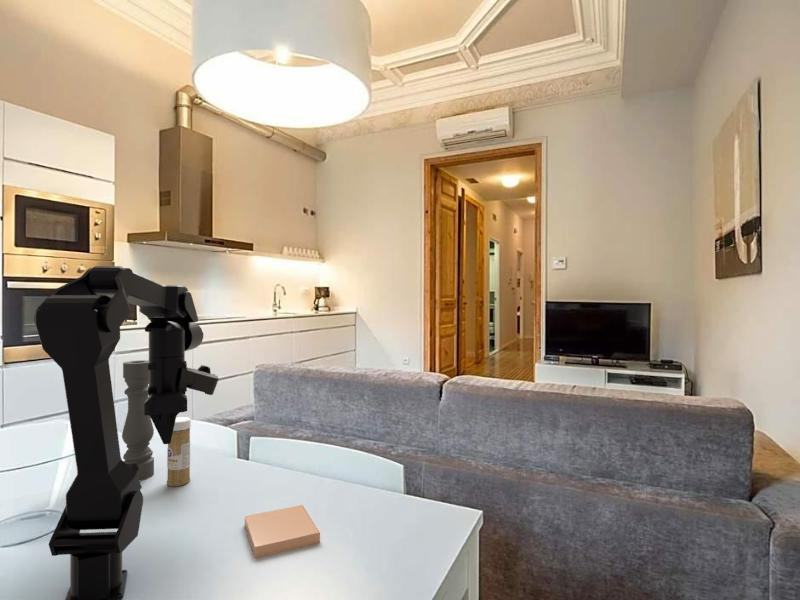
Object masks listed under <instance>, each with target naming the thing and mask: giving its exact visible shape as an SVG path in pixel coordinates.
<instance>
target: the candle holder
mask: <svg viewBox="0 0 800 600" xmlns="http://www.w3.org/2000/svg"><path fill="white" fill-rule="evenodd" d="M148 363H149V359H147V360H145V359H143V360H129V361H124V362H122V377H123V378H124V383H126V386H127V388H125V390H124V391H123V393H124V395H126V397H127V414H126V418H125V421H124V426H123V428H122V432H121V439H122V441H123V442H124V444H126V447H125V448H127V449H126V451H125V453H124V454H123V456H122V461H123V462H124V463H136V464H137V466H138V468H139V480H140V481H144V480H147V479H150V478H151V477H153V476H154V475H155V457H153V453H154V451H153V450H152V448H150V446H149V445H150V442H151V441H152V439H153V436H154V434H155V429H154V428H155V427H154V424H153V421H152V419H151V417H150V415H149V416H147V415H144V403H145V400H146V399H147V398H148V397H149V394H148V387H149V370H148Z"/></svg>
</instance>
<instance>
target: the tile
mask: <svg viewBox="0 0 800 600" xmlns="http://www.w3.org/2000/svg"><path fill="white" fill-rule="evenodd" d="M244 528H245V531H246V533H247V537H248V540H249V545H250V547H251V550H252V552H253V556H254V558H258V557H263V556H264V557H265V556H269V555H272V554H276V553H281V552H284V551H288V550H293V549H297V548H302V547H305V546H310V545H314V544H318V543H321V532H320V530H319V528H318V527H317V526H316V524H315V522H314V521H313V519H312V518H311V516H310V514H309V512H308V511H307V509H306V508H305V506H304V504H300V505H295V506H289V507H284V508H280V509H279V508H278V509H275V510H269V511H265V512H264V511H263V512H259V513H253V514H250V515H245V516H244Z"/></svg>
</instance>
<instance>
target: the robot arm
mask: <svg viewBox="0 0 800 600" xmlns="http://www.w3.org/2000/svg"><path fill="white" fill-rule="evenodd" d="M192 296H193V295H192V293H191V292H190V291H189V289H188V288H187V287H186V286H185V285H177V284H176V285H173V284H172V285H171V284H167V285H166V284H160V283H158V282H156V281H154V280H152V279H149V278H148V277H147V278H146V277H145V276H143V275H140V274H138V273H136V272H135V271H133V270H132V269H131V268H129V267H126V266H123V265H113V266H112V265H103V266H102V265H94V266H93V267H89V268H88V269H86V270H85V272H84V273H83V274H82V275H81V276H80V277H78V278H76V279H74V280H72V281H70V282H67V283H65V284H63V285H62V286H59V287H57V288H56V289H54V290H53V291H52V292H51V293H50V294H49V295H48V296H47V297H46V298H45V299H44V301H43V302H41V304H39V306H38V307H37V308H36V310H35V313H34V317H33V318H34V320H33V321H34V324H35V328H36V331H37V334H38V335H37V336H38V338H39V341H40V345H41V347H42V348H41V349H42V350H43V351H44V352H45V354H47V355H48V356H49V357H50V358H51V360H52V361H53V362H55V363H56V364H57V366H59V368H60V369H61V372H62V377H63V385H64V390H65V391H64V392H65V397H66V398H65V399H66V403H67V404H66V405H67V411H68V419H69V425H70V430H71V438H72V443H73V451H74V458H75V464H76V476H75V478H74V479H73V481H72V483H71V485H70V487H69V489H68V490H67V492H66V494H65V506H64V509H63V511H62V514H61V516H60V517H59V518H60V519H59V520H58V523H57V525H56V526H55V529H54V531H53V533H52V535H51V538H50V540H49V542H48V546H49V550H50V554H51V556H53V557H56V556H58V555H59V556H61V555H62V556H65V555H70V559H69V561H70V563H69V564H70V565H69V567H70V568H69V569H70V571H69V572H70V574H69V576H70V580H69V581H70V586H69V588H68V591H67V594H66V597H65V599H64V600H121V599H123V598H124V595H125V589H126V584H127V578H128V569H123V551H125V550H126V548H127V547H129V546H130V545H131V543H132V542H133V541H134V540H135V539H136V538H138V536H139V533H140V532H139V531H140V525H141V517H142V511H143V505H144V495H143V492H142V491H141V490H142V487H143V486H142V484H141V480H139V468H138V466H137V464H136V463H124V462H123V461H124V460H123V459H122V457H121V448H120V440H119V433H118V424H117V418H116V409H115V401H114V393H113V386H112V385H113V384H112V377H111V369H110V358H111V355H112V354H113V352H114V350H115V348H116V347H117V345H118V343H119V341H120V339H121V326H122V325H123V323H124V322H125V320H126V319H127V317H128V316H129V314H130V313H131V312H132V311H131V310H132V309H131V306H130V304H131V305H134V306H137V307H139V312H140V313H141V314H142V315H144V316H145V317H147V319H148V320H149V321H150V322H149V323H148V324H147V325H145V328H144V332H147V333H148V360H149V363H148V370H149V384H148V386H149V387H148V394H149V395H148V398H147V399H146V400H145V403H144V415H147V416H149V415H150V417H151V421H152V424H153V426H154V428H155V430H156V431H157V433H158V435H159V437H160V439H161V441H162V444H164V445H168V444H170V443H171V438H172V434H173V429H174V425H175V420H176V418H177V416H178V415H179V414H180V413H185V412H188V395H186V392H187V391H188V389H190V390H193V391H197V392H202V393H204V394H206V395H209V396H213V395H214V392H215V390H216V387H217V384H218V383H219V376H218V375H216V374H215V373H211V368H210V366H207V365H203V364H201V365H200V366H199V367H198V368H197V369H196V368H190V367H187V366H188V363H187V360H186V358H185V357H186V356H185V354H186V351H187V352H188V351H190V350H194V349H196V348H198V347H199V346H200V345H201V344H202V343H203V340H204V332H203V330H202V328H201V326H200V325H199V324H198V322H199V316H198V313H197V310H196V307H195V303H194V299H193V297H192ZM84 530H85V531H88V530H89V531H90V530H91V531H92V530H94V531H95V530H116V531H102V532H101V531H98V532H96V531H95V532H81V531H84Z"/></svg>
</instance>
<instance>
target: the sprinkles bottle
mask: <svg viewBox="0 0 800 600" xmlns="http://www.w3.org/2000/svg"><path fill="white" fill-rule="evenodd" d="M191 423H192V422H191V418H190V417H188V416H179V417H177V416H176V420H175V425H174V429H173V434H172V438H171V443H170V444H167V455H166V457H167V458H166V460H167V461H166V468H167V478H166V479H167V480H166V484H167V485H168V486H170V487H179V486H183V485H185V484H188V483H189V482H190V481H191V476H190V474H191V473H190V472H191V426H192V424H191Z"/></svg>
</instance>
